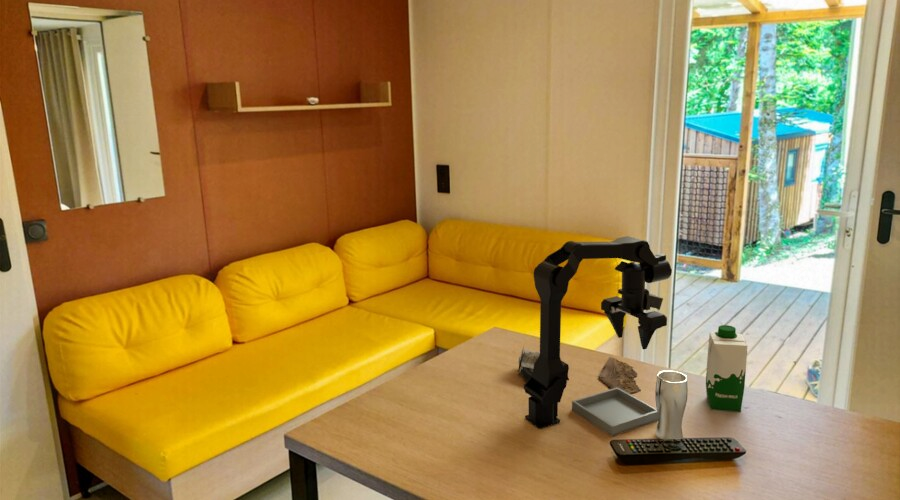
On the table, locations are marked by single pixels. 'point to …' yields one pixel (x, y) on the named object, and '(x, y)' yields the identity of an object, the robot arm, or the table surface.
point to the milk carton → (726, 369)
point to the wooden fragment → (619, 376)
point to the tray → (615, 411)
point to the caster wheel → (527, 363)
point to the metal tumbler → (670, 403)
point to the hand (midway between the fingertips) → (632, 343)
